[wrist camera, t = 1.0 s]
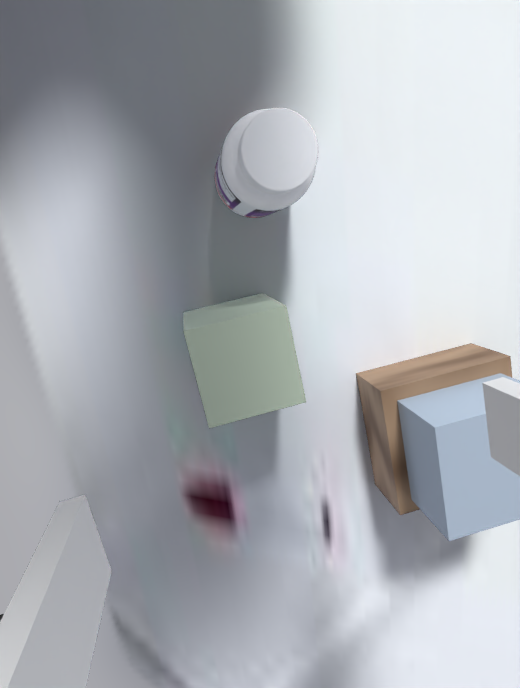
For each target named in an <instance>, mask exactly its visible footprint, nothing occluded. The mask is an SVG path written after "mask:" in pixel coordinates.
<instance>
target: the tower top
mask: <svg viewBox="0 0 520 688" xmlns="http://www.w3.org/2000/svg"><path fill="white" fill-rule="evenodd" d="M501 377H504V378H507V379H509V380H512V381H515V382H517V383H520V381H519V380H516V379H514V378H511V377H509V376H506V375H504V374H501V373H499V374H495V375H492V376H488V377H484V378H480V379H477V380H473V381H469V382H465V383H462V384H458V385H454V386H450V387H447V388H443V389H439V390H435V391H432V392H428V393H424V394H420V395H416V396H413V397H409V398H405V399H401V400H398V401H397V402H398V409H399V416H400V423H401V430H402V437H403V444H404V451H405V457H406V464H407V471H408V478H409V485H410V492H411V499H412V501H413V502H414V503H415V504H416V505H417V506H418V507H419V508H420V510H421V511H422V512H423V513H424V514H425V515H426V516H427V517H428V518H429V520H430V521H431V522H432V523H433V524H434V525H435V526H436V527H437V528H438V529H439V531H440V532H441V533H442V534H443V535H444V536H445V537H446V538H447V539H448V540H449V541H451V540H454V539H458V538H461V537H464V536H467V535H471V534H474V533H477V532H480V531H484V530H487V529H490V528H493V527H497V526H500V525H503V524H506V523H510V522H513V521H516V520H519V519H520V476H518V475H517V474H515V473H514V472H512V471H511V470H509V469H508V468H506V467H505V466H503V465H502V464H500V463H499V462H497V461H496V460H494V459H493V458H491V454H490V445H489V437H488V428H487V419H486V411H485V402H484V393H483V385H482V383H484V382H487V381H491V380H494V379H498V378H501Z"/></svg>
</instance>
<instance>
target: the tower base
mask: <svg viewBox="0 0 520 688" xmlns="http://www.w3.org/2000/svg"><path fill="white" fill-rule="evenodd" d="M499 373H501V374H504V375H506V376H509V377H511V378H512V370H511V359H510V356H508V355H505V354H502V353H499V352H496V351H493V350H490V349H487V348H484V347H481V346H478V345H475V344H467V345H463V346H459V347H456V348H452V349H448V350H444V351H440V352H436V353H433V354H429V355H425V356H421V357H417V358H413V359H410V360H406V361H402V362H398V363H394V364H391V365H387V366H383V367H379V368H375V369H371V370H368V371H364V372H360V373H356V375H357V381H358V387H359V393H360V399H361V405H362V411H363V416H364V422H365V428H366V434H367V440H368V446H369V451H370V457H371V463H372V469H373V475H374V481H375V485H376V486H377V487H378V488H379V490H380V491H381V492H382V493H383V495H384V496H385V497H386V498H387V499H388V501H389V502H390V503H391V504H392V506H393V507H394V508H395V509H396V511H397V512H398V513H399V514H400V515H402V514H406V513H409V512H412V511H416V510H419V509H420V508H419V507H418V506H417V505H416V504H415V503H414V502H413V501H412V499H411V492H410V485H409V478H408V471H407V464H406V457H405V451H404V444H403V437H402V430H401V423H400V416H399V409H398V402H397V401H398V400H401V399H405V398H409V397H413V396H416V395H420V394H424V393H428V392H432V391H435V390H439V389H443V388H447V387H450V386H454V385H458V384H462V383H465V382H469V381H473V380H477V379H480V378H484V377H488V376H492V375H495V374H499Z"/></svg>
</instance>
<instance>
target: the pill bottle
mask: <svg viewBox="0 0 520 688" xmlns="http://www.w3.org/2000/svg"><path fill="white" fill-rule="evenodd" d="M317 159H318V141H317V137H316V134H315V132H314V130H313V128H312V126H311V125H310V123H309V122H308V121H307V120H306V119H305V118H304V117H303V116H302V115H300V114H299V113H297V112H296V111H293V110H291V109H288V108H281V107H277V108H270V109H261V110H256V111H253V112H251V113H249V114H247V115H245V116H243V117H242V118H241V119H239V120H238V121H237V122H236V123H235V124H234V125H233V127H232V128H231V130H230V131H229V133H228V134H227V136H226V138H225V141H224V143H223V146H222V149H221V152H220V154H219V157H218V160H217V163H216V167H215V184H216V188H217V191H218V194H219V196H220V198H221V199H222V201H223V202H224V203H225V205H226V206H227V207H228V208H229V209H231V210H232V211H233V212H235V213H237V214H239V215H242V216H245V217H251V218H257V217H264V216H267V215H270V214H272V213H274V212H277V211H279V210H281V209H284V208H286V207H288V206H290V205H292V204H293V203H295V202H296V201H298V200H299V199H300V198H301V197H302V196H303V195H304V194H305V192H306V191H307V190H308V188H309V186H310V184H311V182H312V180H313V177H314V173H315V168H316V163H317Z"/></svg>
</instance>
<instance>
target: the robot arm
mask: <svg viewBox="0 0 520 688" xmlns="http://www.w3.org/2000/svg"><path fill="white" fill-rule="evenodd" d="M482 385H483V393H484V402H485V411H486V419H487V428H488V437H489V445H490V454H491V458H493V459H494V460H496V461H497V462H499V463H500V464H502V465H503V466H505V467H506V468H508V469H509V470H511V471H512V472H514V473H515V474H517V475H518V476H520V383H517V382H515V381H512V380H509V379H507V378H504V377H501V378H498V379H494V380H491V381H487V382H484V383H482ZM111 572H112V570H111V567H110V565H109V562H108V559H107V556H106V553H105V550H104V547H103V544H102V541H101V538H100V535H99V533H98V530H97V527H96V524H95V521H94V518H93V515H92V512H91V509H90V506H89V504H88V501H87V498H86V495H85V494H84V495H81V496H77V497H74V498H70V499H67V500H63V501H60V502H59V504H58V506H57V508H56V510H55V512H54V514H53V516H52V518H51V520H50V522H49V524H48V526H47V528H46V530H45V532H44V534H43V536H42V538H41V540H40V542H39V544H38V546H37V548H36V550H35V552H34V554H33V556H32V558H31V561H30V562H29V564H28V566H27V568H26V570H25V572H24V574H23V577H22V579H21V581H20V583H19V585H18V587H17V589H16V591H15V593H14V595H13V597H12V599H11V601H10V603H9V605H8V607H7V609H6V611H5V613H4V614H2V615H0V688H86V685H87V680H88V676H89V671H90V667H91V662H92V658H93V653H94V649H95V644H96V640H97V635H98V631H99V626H100V621H101V617H102V613H103V608H104V604H105V599H106V595H107V590H108V586H109V581H110V577H111Z"/></svg>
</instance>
